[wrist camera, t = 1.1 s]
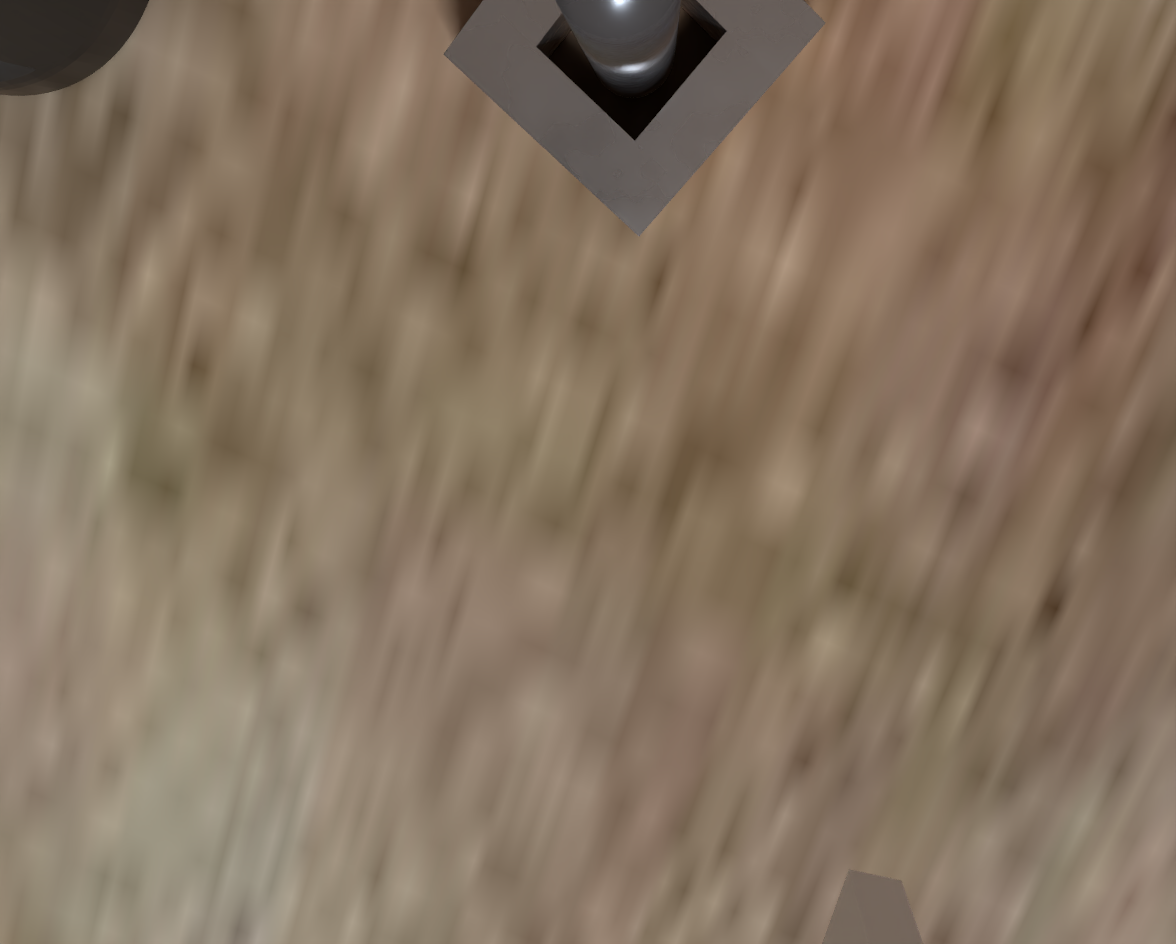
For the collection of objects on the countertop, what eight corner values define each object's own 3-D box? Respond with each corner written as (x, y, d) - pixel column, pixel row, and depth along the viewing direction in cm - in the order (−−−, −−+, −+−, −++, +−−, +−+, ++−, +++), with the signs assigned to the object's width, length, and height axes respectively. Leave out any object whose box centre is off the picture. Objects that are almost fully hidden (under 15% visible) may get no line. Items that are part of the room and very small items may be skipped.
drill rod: (574, 57, 35) (517, -30, 21) (630, -13, 34) (610, -155, 20) (635, 116, 36) (620, 69, 22) (692, 48, 35) (714, -48, 21)
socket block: (463, 66, 36) (443, 54, 33) (624, -150, 33) (620, -188, 30) (640, 232, 37) (638, 236, 34) (809, 38, 35) (825, 22, 31)
